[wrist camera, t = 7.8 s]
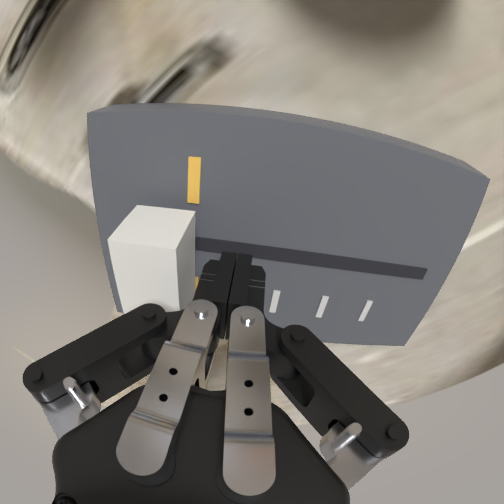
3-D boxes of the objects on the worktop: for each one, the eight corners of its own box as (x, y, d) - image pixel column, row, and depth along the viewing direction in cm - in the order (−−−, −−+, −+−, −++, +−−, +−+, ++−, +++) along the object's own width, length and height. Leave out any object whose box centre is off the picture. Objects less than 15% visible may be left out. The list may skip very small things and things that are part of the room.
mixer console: (464, 161, 14) (491, 179, 12) (395, 318, 22) (404, 346, 20) (114, 104, 14) (86, 113, 12) (131, 285, 22) (117, 312, 20)
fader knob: (199, 203, 14) (175, 249, 11) (198, 281, 17) (181, 333, 14) (143, 198, 14) (107, 239, 11) (150, 274, 17) (126, 322, 14)
